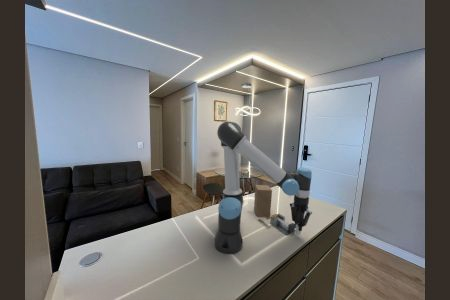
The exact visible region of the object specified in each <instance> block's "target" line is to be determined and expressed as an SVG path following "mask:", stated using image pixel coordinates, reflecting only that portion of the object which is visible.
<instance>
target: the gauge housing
mask: <svg viewBox="0 0 450 300" xmlns="http://www.w3.org/2000/svg"><path fill="white" fill-rule="evenodd" d="M276 214H277V215H278V217H279V218H280V219H282V220H284V221H285V222H286V219H285V218H286V216H284V215H283V214H280V213H276ZM256 221H257V222H258V224H260V225H262V226H263V227H265V228H266V229H270V228H271V226H272V227H274V228H275V229H277V230H278V231H279V232H281V233H282V234H283V235H285V236H289V235H291V234H293V233H294V234H295V230H294V232H292V233H289V232H288V231H287V230H285V229H284V228H283V227H281V226H280V225H278V219H277V218H276V217H273V218H270V222H269V224H267V223H266V222H265V221H263V219H261V218H258V219H257V220H256Z"/></svg>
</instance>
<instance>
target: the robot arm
mask: <svg viewBox="0 0 450 300" xmlns="http://www.w3.org/2000/svg"><path fill="white" fill-rule="evenodd" d="M216 134H217V135H216V136H217V138H218V139H219V141H220V146H221V148H222V149H223V162H224V185H225V186H224V187H225V188H224V189H223V190H222V199H221V200H220V201H219V203H218V207H217V208H218V219H217V220H218V221H217V222H218V223H217V230H216V234H215V236H214V241H213V242H214V244H213V245H214V248H215V249H216V250H217V251H219V252H220V253H223V254H229V255H231V254H232V255H233V254H236V253H238V252H240V251H241V250H242V248H243V245H244V244H243V243H244V239H243V236H242V233H241V220H242V219H241V218H242V211H243V205H244V197H243V190H242V188H241V187H240V186H241V184H240V182H241V181H240V155H241V156H242V157H243V158H244V159H245V160H247V161H248V162H249V163H250V164H252V165H253V166H254V167H255V168H256V169H257V170H259V171H260V172H261V173H262V174H264V176H266V177H267V178H268V179H269V180H271V181H272V182H273V183H274V184H275V185H276V186H278V188H280V189H281V190H282V192H283V193H284V194H285V195H287V196H290V197H291V196H292V197H293V202H291V203H289V207H290V211H291V212H290V214H291V220H292V222H293V223H294V224H295V232H294V235H295V236H296V237H299V236H301V233H302V230H303V227H306V226H307V224H308V221H309V219H310V217H311V215H312V214H313V211H310V210H309V202H310V193H311V183H312V175H313V174H312V173H313V171H312V170H311V169H310V168H307V167H297V168H296V170H295V171H291V170H284V169H283V168H282V167H280V166H279V165H278V164H277V163H275V161H274V160H272V159H271V158H270V157H268V156H267V155H266V154H265V153H264V152H262V150H260V149H259V148H258V147H257V146H255V145H254V144H253V143H252V142H251V141H249V140H248V139H247V137H246V136H247V135H245V134H244V133H243V132H242V128H241V126H240V125H239V124H238V123H237V122H234V121H229V120H228V121H224V122H222V123H220V124H219V126H218V128H217V131H216ZM239 154H240V155H239Z"/></svg>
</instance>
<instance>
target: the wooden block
mask: <svg viewBox="0 0 450 300" xmlns="http://www.w3.org/2000/svg"><path fill="white" fill-rule="evenodd" d="M272 195H273V190H272V188H271V187H270V185H269V184H267V185H266V184H255V187H254V201H253V203H254V205H253V211H254V214H255V217H259V218H260V217H261V218H262V217H263V218H268V217H271V209H272V198H273V197H272Z"/></svg>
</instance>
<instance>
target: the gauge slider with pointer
mask: <svg viewBox="0 0 450 300" xmlns="http://www.w3.org/2000/svg"><path fill="white" fill-rule="evenodd" d="M277 214H278V213H275V214H271V215H270V217H265V220H269V219H270V220H271V218H273V217H276V218H277V219H278V225H280V226H281V227H283V228H284V229H285V230H287V231H288V232H289V233H291V234H293V233H292V232H294V230H295V222H292V223H288V222H287V221H286V220H285V221H284V220H282V219H280V218H279V217H278V215H277ZM294 233H295V232H294Z"/></svg>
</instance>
